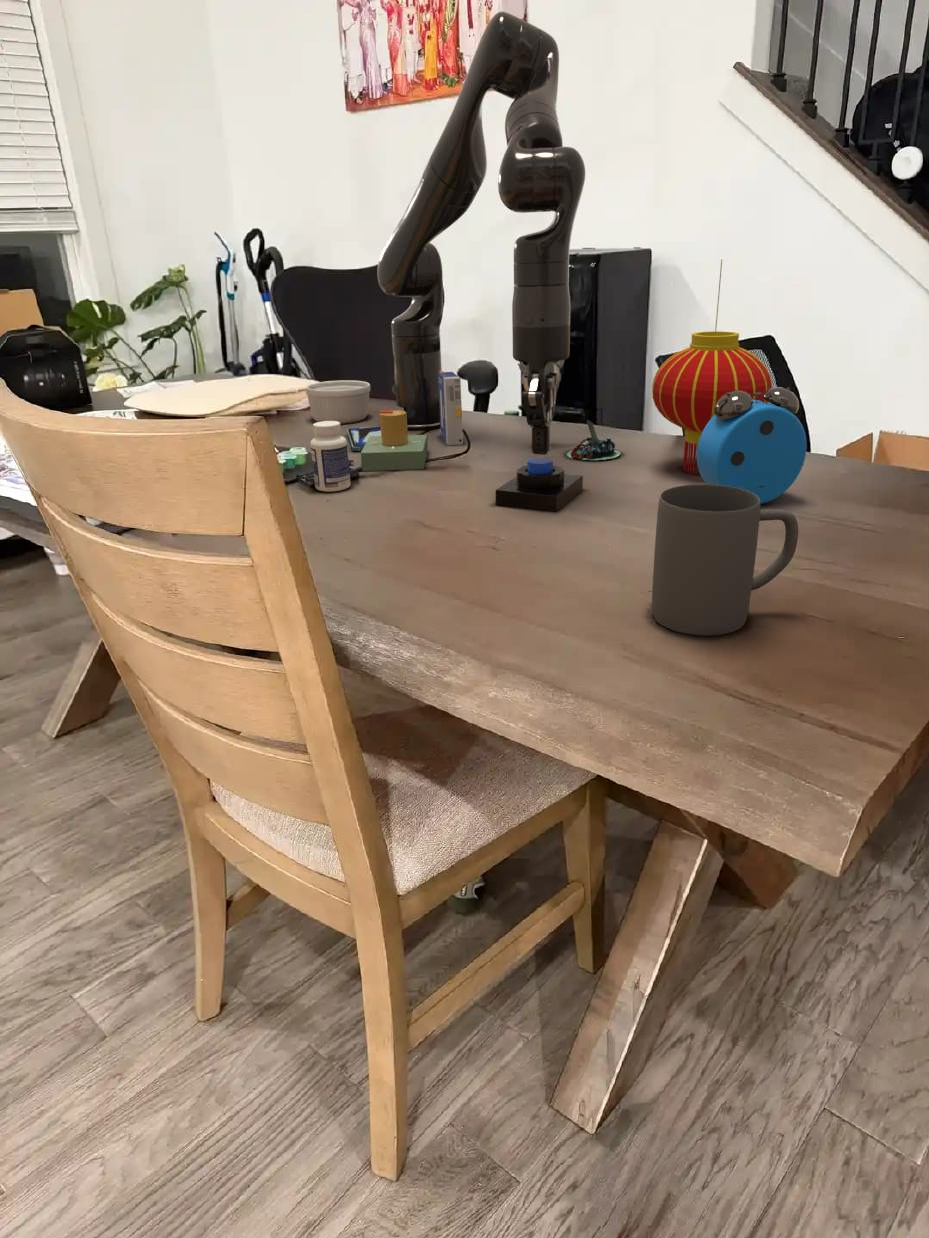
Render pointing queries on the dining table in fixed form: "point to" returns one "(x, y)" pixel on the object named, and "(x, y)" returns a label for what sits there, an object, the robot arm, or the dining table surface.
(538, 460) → the button
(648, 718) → the dining table surface
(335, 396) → the ramekin
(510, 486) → the lamp switch
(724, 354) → the lantern
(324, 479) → the pill bottle
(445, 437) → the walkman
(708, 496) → the mug
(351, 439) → the smartphone
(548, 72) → the robot arm
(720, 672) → the dining table surface
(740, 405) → the alarm clock
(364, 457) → the block
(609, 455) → the dish
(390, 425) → the dimmer knob
